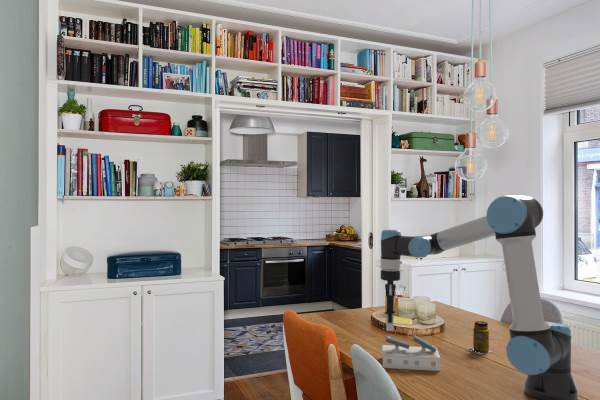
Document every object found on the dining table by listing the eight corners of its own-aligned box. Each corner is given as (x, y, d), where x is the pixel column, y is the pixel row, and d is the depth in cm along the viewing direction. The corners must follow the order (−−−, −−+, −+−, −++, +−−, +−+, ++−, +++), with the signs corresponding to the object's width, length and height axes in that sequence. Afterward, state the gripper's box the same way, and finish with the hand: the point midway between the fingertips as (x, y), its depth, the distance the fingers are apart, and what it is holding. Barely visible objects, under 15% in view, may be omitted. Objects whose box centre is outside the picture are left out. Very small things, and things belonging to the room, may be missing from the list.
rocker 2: (434, 352, 179) (436, 349, 179) (413, 340, 180) (415, 337, 180) (433, 349, 183) (435, 345, 183) (412, 337, 185) (414, 334, 185)
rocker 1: (408, 349, 181) (409, 345, 181) (385, 341, 182) (386, 337, 182) (408, 345, 185) (409, 341, 185) (385, 338, 186) (386, 334, 186)
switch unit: (440, 371, 175) (440, 352, 175) (382, 367, 178) (382, 349, 178) (436, 360, 187) (436, 342, 187) (382, 357, 190) (382, 340, 190)
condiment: (493, 351, 199) (493, 322, 199) (480, 355, 194) (480, 325, 194) (478, 347, 205) (478, 319, 205) (465, 350, 200) (465, 322, 200)
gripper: (401, 272, 177) (400, 335, 177) (399, 267, 190) (399, 326, 190) (380, 271, 179) (379, 334, 178) (380, 267, 191) (380, 325, 191)
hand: (389, 330), depth 184 cm, fingers closed
